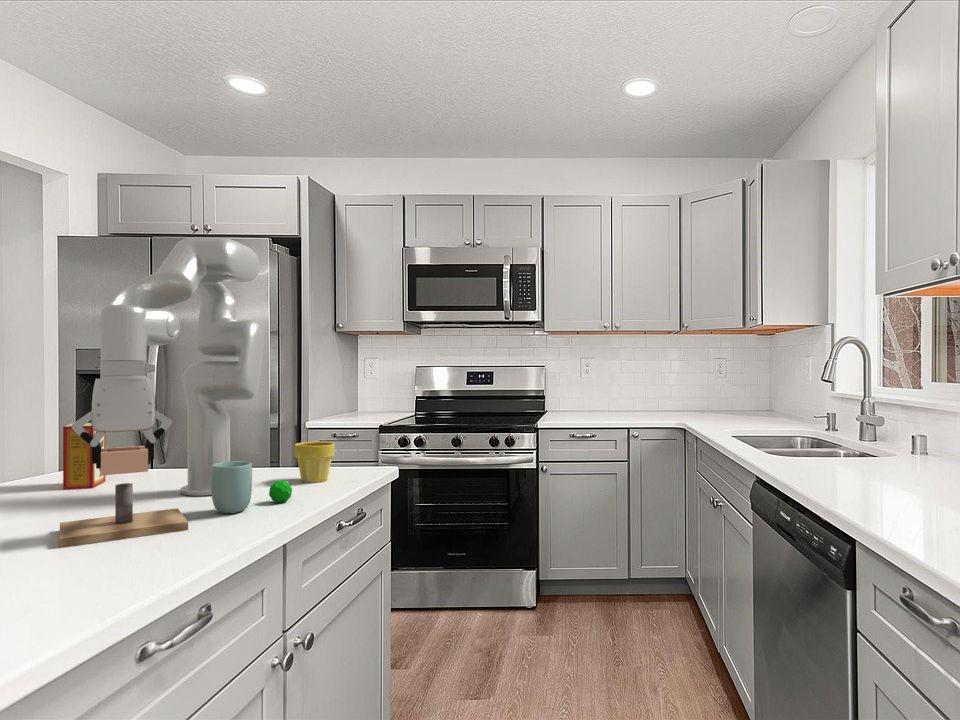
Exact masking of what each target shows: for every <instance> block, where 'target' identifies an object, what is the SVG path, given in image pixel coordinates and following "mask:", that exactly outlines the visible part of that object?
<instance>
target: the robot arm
mask: <svg viewBox="0 0 960 720" xmlns="http://www.w3.org/2000/svg"><path fill="white" fill-rule="evenodd" d="M259 271H260V260H259V257H258V255H257V253H256V252H255V251H254V250H253V249H252V248H250V247H249V246H248V245H245V244H243V243H241V242H240V241H239V242H238V241H236V240H234V239H231V238H227V237H219V236H218V237H217V236H216V237H187V238H183V239H180V240H179V241H178V242H177V243H176V244H175V245H174V247H173V248H172V249H171V250H170V252H169V253H168V255H167V256H166V258H165V259H164V260H163V262H162V263H161V264H160V267H158V269H157V270H156V272H154V273H152V274H149V275H147V276H145V277H144V278H143V277H142V278H141V279H138V280H137V281H135V282H134V283H131V284H129V285H128V286H126V287H124V288H122V289H121V290H120V291H118V292H117V293H115V295H114V296H113V297H112V299H110V301H109V302H108V304H107V305H105V306H103V308H101V311H100V317H99V321H98V332H99V335H100V351H99V353H100V366H99V367H100V373H99V374H100V378H95V380H94V384H93V390H92V397H91V398H92V400H91V411H89V412H88V413H86V414H85V415H84V416H82V417H80V418H79V419H78V420H76V421H75V422H73V424H72V423H71V424H72V426H71V427H72V429H73V430H74V431H75V432H76V433H77V434H78V435H79V436H80V437H81V438H82V439H83V440H85V441H86V442H87V443H88V444H90V445H91V446H92V464H96V469H99V468H101V446H100V443H99V442H100V440H101V439H102V437H103V436H104V434H105V435H106V434H107V433H125V432H142V434H143V435H144V437H145V438H146V439H145V443H144V446H145V448H146V449H148V466H149V465H151V462H152V461H151V460H155V443H156V442H157V441H158V440H159V439H160V437H162V436H163V435H164V434H165V432H166V431H167V430H168V429H169V428H170V426H171V425H172V424H173V420H172V419H170V418H169V417H168V416H166V415H164V414H163V413H161V412H160V411H159V410H157V409H155V400H154V397H155V396H154V391H153V385H152V380H151V378H150V377H148V374H149V373H154V372H156V365H155V364H150V363H149V362H148V358H147V357H148V354H147V351H148V350H147V348H148V346H150V347H153V346H157V347H158V346H164V345H169V344H172V343H173V342H174V341H176V339H177V338H178V336H179V334H180V330H181V323H180V321H179V319H178V317H177V315H176V314H175V313H174V312H172V311H171V310H169V309H166V308H168V307H171V306H175V305H177V304H181V303H183V302H186V301H188V300H189V299H191V298H192V296H193V295H194V294H195V292H196V291H197V293H198V295H199V301H200V303H199V313H198V314H199V315H198V320H197V321H198V322H197V326H196V327H197V329H196V336H195V337H196V338H195V349H196V351H197V352H198V353H199V354H200V355H201V356H203V357H207V358H228V359H229V358H231V359H232V358H236V359H238V361H235V360H233V361H231V360H230V361H227V360H225V361H223V360H210V361H209V360H204V361H197V362H193V363H191V364H190V365H189V366H187V367H186V368H185V371H184V372H183V375H182V386H183V391H184V395H185V400H186V412H187V484H186V485H184V486H182V487H180V494H181V495H185V496H193V497H194V496H195V497H196V496H197V497H199V496H201V497H202V496H212V491H211V467H212V465H213V464H216V463H221V462H229V461H231V418H230V415H229V413H228V411H227V409H226V407H225V406H224V404H223V403H222V402H223V401H248V400H251V399H254V398H255V397H256V395H257V394H258V392H259V390H260V382H261V377H262V376H261V375H262V374H261V373H262V366H263V359H264V346H265V343H264V342H265V339H264V338H265V337H264V333H263V329H262V327H261V325H260V324H259V323H258V322H257V321H255V320H253V319H241V318H240V319H239V318H237V319H236V317H237V309H238V304H237V301H236V298H235V297H234V295H233V294H232V293H231V291H230V290H229V289H228V288H227V287H226V286H225V284H224V283H231V282H232V283H247V282H249V283H250V282H252V281H254V280H255V279H256V278H257V277H258V275H259ZM221 401H222V402H221ZM156 419H157V420H158V421H160V422H161V425H160V426H159V427H158V428H157V429H156V430H154V431H153V432H152V430H151V429H152V428H154V426H155V420H156ZM86 423H91V424H92V428H93V429H94V430H95V431H96V433H95V434H94V436H93V437H92V436H91V435H90V434H88V433H87V432H86V431H85V430H84V429H83V426H84V425H85V424H86Z"/></svg>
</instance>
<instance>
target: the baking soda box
mask: <svg viewBox="0 0 960 720" xmlns="http://www.w3.org/2000/svg"><path fill="white" fill-rule="evenodd" d="M73 423H74V422H73ZM73 423H70V424H67V425H64V426H62V458H63V459H62V466H63V467H62V471H63V472H62V473H63V474H62V484H63V485H62V490H63V491H64V490H66V491H67V490H69V491H70V490H81V489H82V490H86V489H94V488H96V487H98V486H99V485H102V484H103V483H105V482H106V475H102V476H101V473H100V470H99V469H96V464H92V446H91V445H90V444H88V443H87V442H86V441H85V440H83V439H82V438H81V437H80V436H79V435H78V434H77V433H76V432H75V431H74V430H73V429H72V427H71V426H72V424H73ZM83 429H84V430H85V431H86V432H87V433H88V434H90V435H91V436H92V437H93V436H94V434H95V433H96V431H95V430H94V429H93V428H92V424H91V422H88V423H86V424H85V425H84V426H83ZM99 443H100V446H101V449H102V448H106V433H105V434H104V436H103V437H102V439H101V440H100V442H99Z"/></svg>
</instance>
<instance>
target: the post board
mask: <svg viewBox="0 0 960 720" xmlns="http://www.w3.org/2000/svg"><path fill="white" fill-rule="evenodd" d="M133 490H134V489H133V483H132V482H128V483H127V482H126V483H125V482H123V483H118V484H116V485H115V491H114V492H115V494H114V495H115V499H114V500H115V501H114V502H115V507H114V508H115V512H114V513H115V514H114V515H110V516H104V517H102V516H101V517H94V518H86V519H80V520H79V519H78V520H70V521H62V522H59V534H58V537H59V538H58V548H67V547H73V546H74V547H75V546H81V545H87V544H88V545H89V544H96V543H104V542H110V541H117V540H124V539H131V538H139V537H145V536H152V535H153V536H154V535H160V534H161V535H162V534H168V533H176V532H181V531H188V530H189V521H188V520H187V518H186V517H185V515H184V514H183V513H182V511H181V510H180V508H178V507H177V508H170V509H169V508H168V509H162V510H161V509H160V510H154V511H153V510H152V511H144V512H136V513H134V511H133V510H134V509H133V508H134V507H133V500H134V498H133V494H134V493H133Z"/></svg>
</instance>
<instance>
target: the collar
mask: <svg viewBox="0 0 960 720" xmlns="http://www.w3.org/2000/svg"><path fill="white" fill-rule="evenodd" d="M99 470H100V473H101V476H102V475H105V476H111V475H123V474H124V475H125V474H135V473H146V472H147V473H148V472H149V465H148V449H146V448H145V445H136V446H135V445H134V446H121V447H105V448H102V449H101V468H99Z"/></svg>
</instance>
